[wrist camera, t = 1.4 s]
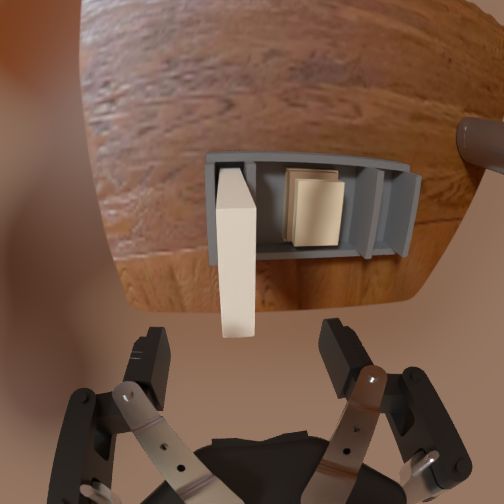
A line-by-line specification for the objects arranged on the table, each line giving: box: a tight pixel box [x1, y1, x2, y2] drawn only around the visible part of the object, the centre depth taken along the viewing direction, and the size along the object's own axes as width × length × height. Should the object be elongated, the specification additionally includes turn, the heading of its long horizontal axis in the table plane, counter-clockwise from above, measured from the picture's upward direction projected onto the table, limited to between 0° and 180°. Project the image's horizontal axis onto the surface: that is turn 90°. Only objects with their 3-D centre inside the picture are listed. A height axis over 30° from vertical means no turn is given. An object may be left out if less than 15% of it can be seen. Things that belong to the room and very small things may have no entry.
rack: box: [205, 151, 422, 266], centre depth 35 cm, size 28×14×7 cm, turn 90°
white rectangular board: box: [216, 167, 256, 338], centre depth 27 cm, size 2×10×20 cm, turn 0°
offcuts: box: [282, 167, 345, 246], centre depth 35 cm, size 7×10×4 cm
